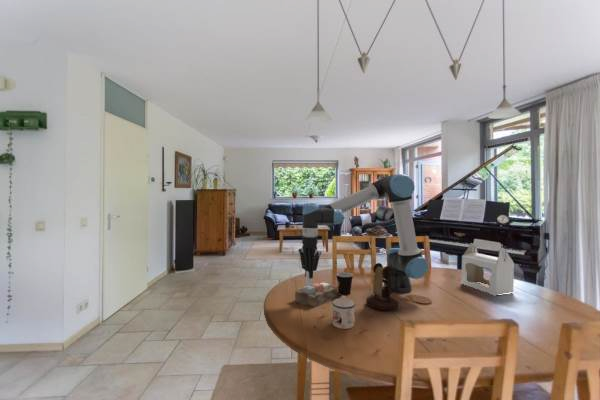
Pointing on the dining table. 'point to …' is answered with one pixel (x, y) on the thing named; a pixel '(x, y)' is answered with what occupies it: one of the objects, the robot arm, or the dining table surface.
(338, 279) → the coffee mug
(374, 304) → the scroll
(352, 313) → the teacup with lid
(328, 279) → the dining table surface
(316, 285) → the terracotta key
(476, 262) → the gable box
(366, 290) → the dining table surface
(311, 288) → the grey key
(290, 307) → the dining table surface
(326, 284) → the cream key
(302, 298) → the key box
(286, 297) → the dining table surface
